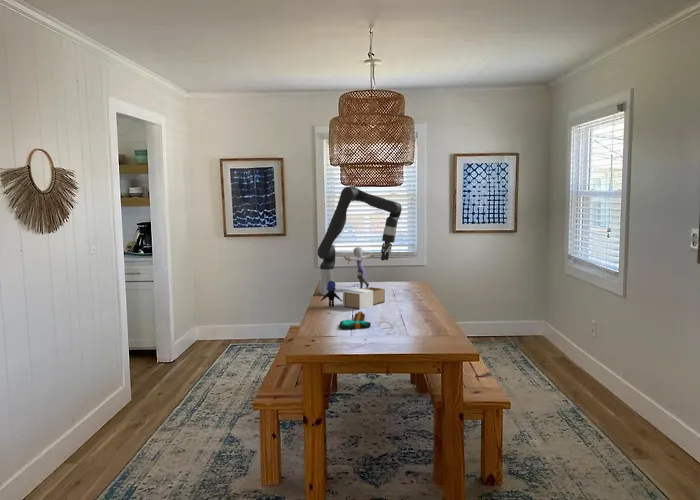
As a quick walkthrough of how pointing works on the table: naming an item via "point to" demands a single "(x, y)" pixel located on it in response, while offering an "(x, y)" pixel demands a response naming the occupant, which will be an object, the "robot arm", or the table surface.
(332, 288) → the toy
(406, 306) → the table surface
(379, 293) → the wooden drawer
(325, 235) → the robot arm
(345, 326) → the toy
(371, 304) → the sleeve
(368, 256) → the figurine
